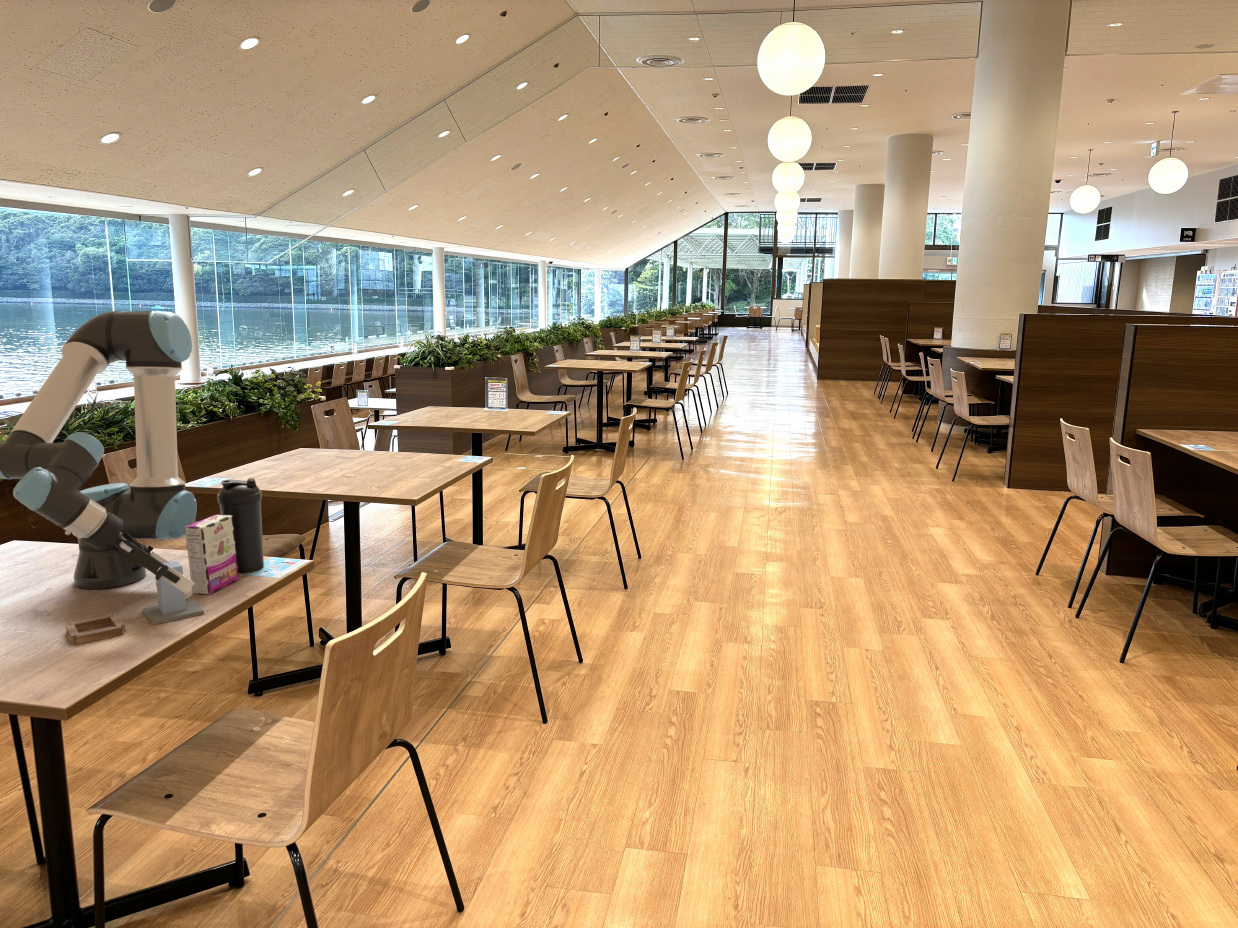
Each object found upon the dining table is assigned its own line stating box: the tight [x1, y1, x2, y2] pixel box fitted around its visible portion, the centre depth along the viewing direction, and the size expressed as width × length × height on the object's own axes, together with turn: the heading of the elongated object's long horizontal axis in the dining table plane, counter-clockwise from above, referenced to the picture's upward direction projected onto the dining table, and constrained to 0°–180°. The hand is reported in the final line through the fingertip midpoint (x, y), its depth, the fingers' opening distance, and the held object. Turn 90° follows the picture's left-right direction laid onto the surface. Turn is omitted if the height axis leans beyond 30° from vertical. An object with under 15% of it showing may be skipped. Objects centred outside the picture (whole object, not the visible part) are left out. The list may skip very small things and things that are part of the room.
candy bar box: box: [185, 514, 240, 595], centre depth 203 cm, size 11×5×16 cm, turn 168°
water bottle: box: [216, 477, 265, 575], centre depth 216 cm, size 10×10×23 cm
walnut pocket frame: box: [65, 614, 126, 645], centre depth 177 cm, size 10×10×2 cm
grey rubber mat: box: [141, 597, 205, 625], centre depth 188 cm, size 10×10×1 cm
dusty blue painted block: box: [154, 560, 187, 614], centre depth 187 cm, size 4×4×10 cm
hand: (181, 579), depth 188 cm, fingers open, 13 cm apart
